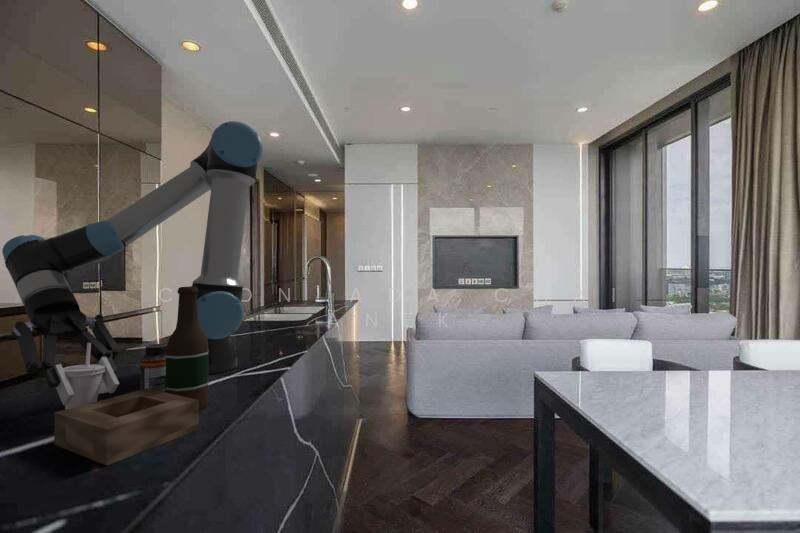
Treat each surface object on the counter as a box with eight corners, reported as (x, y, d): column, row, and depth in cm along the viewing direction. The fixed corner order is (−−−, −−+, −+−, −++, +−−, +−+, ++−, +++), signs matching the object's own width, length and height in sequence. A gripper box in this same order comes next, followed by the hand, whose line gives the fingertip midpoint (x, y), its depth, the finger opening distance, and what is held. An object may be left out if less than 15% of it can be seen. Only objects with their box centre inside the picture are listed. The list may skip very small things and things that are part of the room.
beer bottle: (178, 401, 81) (179, 286, 82) (216, 401, 82) (216, 286, 82) (156, 415, 74) (156, 287, 74) (197, 414, 74) (197, 287, 74)
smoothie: (105, 422, 70) (110, 343, 71) (57, 431, 66) (63, 347, 67) (99, 413, 75) (103, 339, 76) (54, 421, 70) (60, 342, 71)
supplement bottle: (143, 395, 85) (143, 343, 86) (174, 392, 88) (174, 341, 88) (136, 404, 80) (137, 348, 80) (170, 400, 82) (170, 346, 82)
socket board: (146, 415, 74) (146, 388, 74) (198, 429, 67) (198, 399, 67) (54, 444, 61) (54, 412, 61) (106, 465, 54) (107, 429, 54)
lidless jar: (80, 396, 86) (106, 395, 86) (81, 383, 86) (106, 381, 87) (94, 389, 91) (118, 388, 91) (95, 377, 91) (118, 375, 91)
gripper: (97, 308, 87) (140, 391, 79) (-27, 317, 70) (13, 425, 62) (110, 284, 84) (156, 368, 77) (-14, 287, 67) (28, 396, 60)
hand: (92, 393), depth 69 cm, fingers closed on smoothie, 6 cm apart
